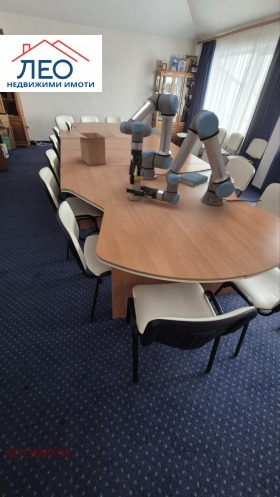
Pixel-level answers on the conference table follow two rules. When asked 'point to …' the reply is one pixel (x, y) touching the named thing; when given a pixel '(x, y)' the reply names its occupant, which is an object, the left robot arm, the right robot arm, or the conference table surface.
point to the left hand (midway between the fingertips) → (135, 181)
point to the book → (193, 179)
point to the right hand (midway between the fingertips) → (129, 188)
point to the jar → (137, 188)
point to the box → (92, 146)
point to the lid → (136, 178)
